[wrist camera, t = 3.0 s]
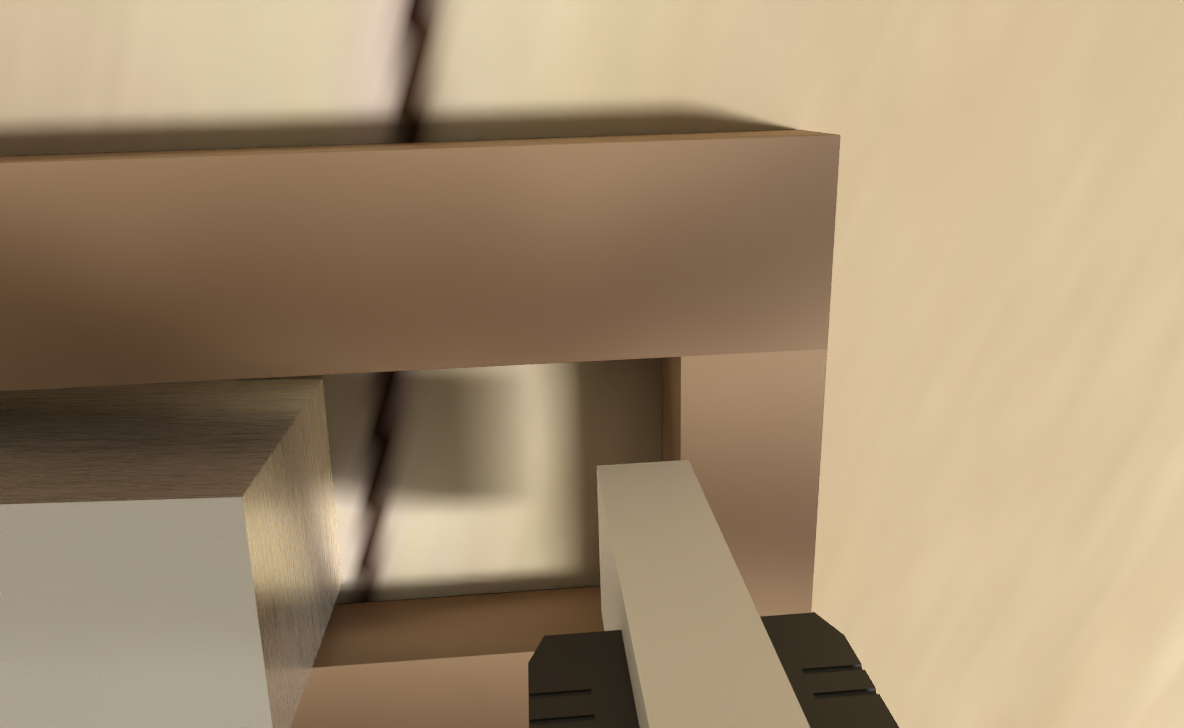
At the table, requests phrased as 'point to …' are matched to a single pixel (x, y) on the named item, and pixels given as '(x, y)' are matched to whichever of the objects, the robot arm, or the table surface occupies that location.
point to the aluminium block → (164, 553)
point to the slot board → (457, 331)
